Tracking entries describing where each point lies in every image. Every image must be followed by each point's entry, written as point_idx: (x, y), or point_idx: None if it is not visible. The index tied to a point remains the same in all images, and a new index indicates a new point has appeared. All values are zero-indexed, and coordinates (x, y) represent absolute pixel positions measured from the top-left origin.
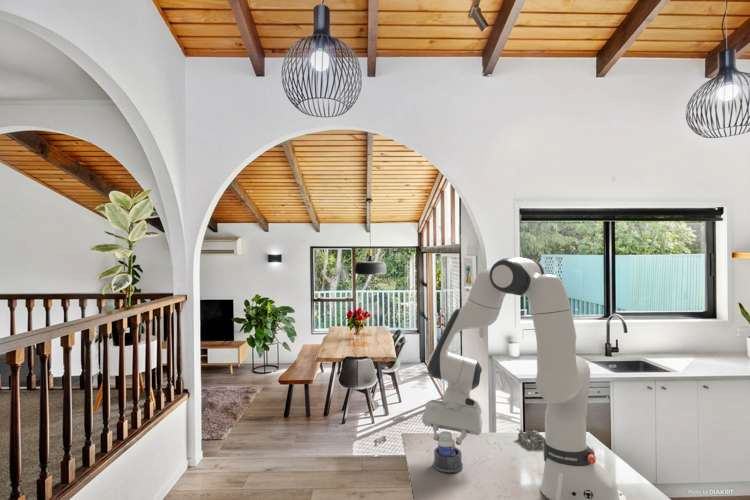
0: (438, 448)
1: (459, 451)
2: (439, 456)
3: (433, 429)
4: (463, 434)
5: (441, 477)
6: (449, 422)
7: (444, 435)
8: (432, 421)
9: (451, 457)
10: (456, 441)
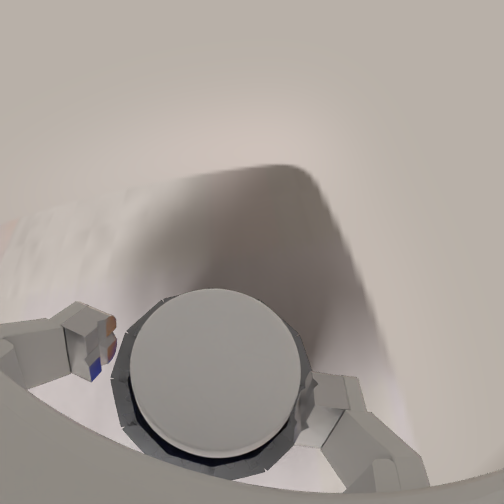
0: (287, 426)
1: (122, 397)
2: (263, 303)
3: (397, 441)
4: (7, 326)
5: (241, 274)
6: (109, 496)
7: (223, 305)
8: (469, 492)
9: (178, 295)
10: (102, 311)
